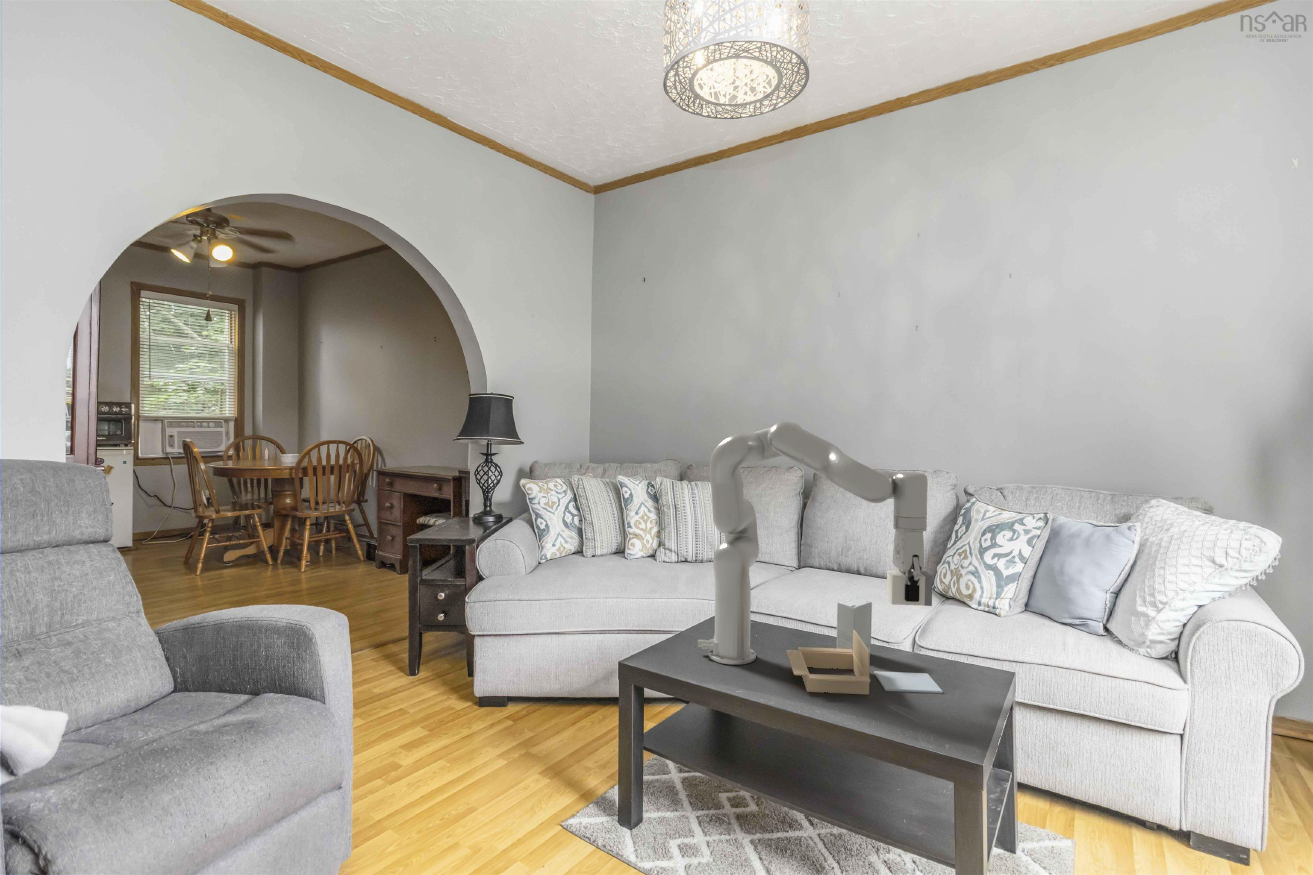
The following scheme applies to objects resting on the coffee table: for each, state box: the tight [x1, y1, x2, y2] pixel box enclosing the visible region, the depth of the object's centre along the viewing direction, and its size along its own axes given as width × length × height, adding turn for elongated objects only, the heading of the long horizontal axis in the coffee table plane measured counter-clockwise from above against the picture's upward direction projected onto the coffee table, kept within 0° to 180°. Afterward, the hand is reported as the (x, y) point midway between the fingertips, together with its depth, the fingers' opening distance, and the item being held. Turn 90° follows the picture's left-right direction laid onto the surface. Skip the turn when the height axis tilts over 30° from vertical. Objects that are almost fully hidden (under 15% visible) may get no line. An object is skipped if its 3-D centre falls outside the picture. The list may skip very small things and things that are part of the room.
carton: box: [786, 630, 871, 695], centre depth 162 cm, size 17×21×10 cm
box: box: [886, 570, 933, 607], centre depth 160 cm, size 9×5×7 cm, turn 85°
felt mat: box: [873, 670, 943, 694], centre depth 160 cm, size 13×11×1 cm
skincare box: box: [835, 596, 873, 655], centre depth 179 cm, size 8×6×15 cm
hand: (908, 597), depth 160 cm, fingers closed on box, 5 cm apart
